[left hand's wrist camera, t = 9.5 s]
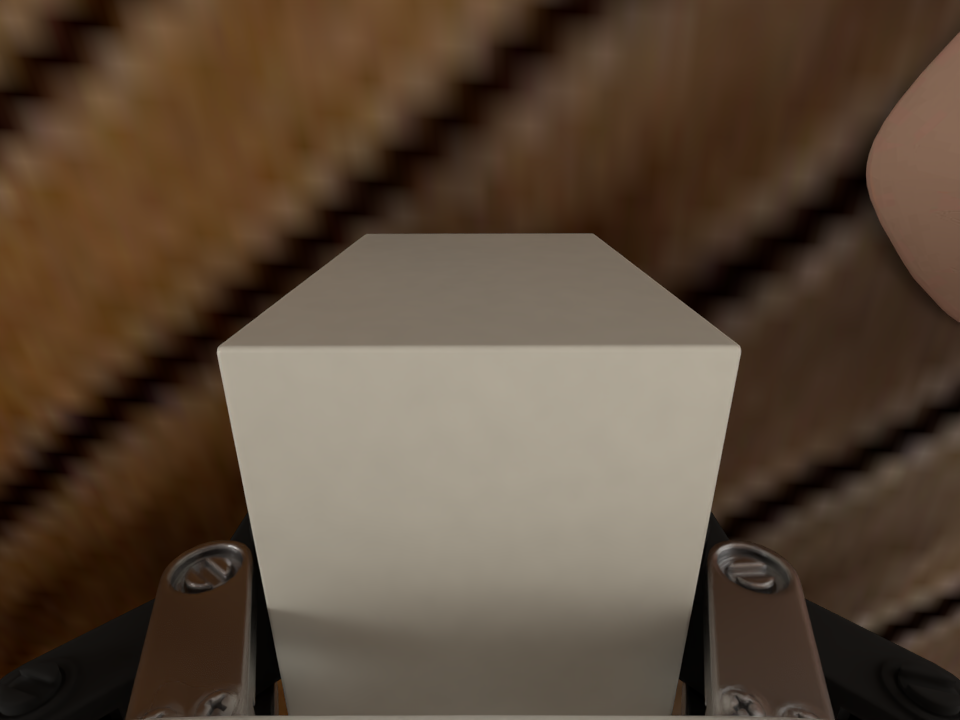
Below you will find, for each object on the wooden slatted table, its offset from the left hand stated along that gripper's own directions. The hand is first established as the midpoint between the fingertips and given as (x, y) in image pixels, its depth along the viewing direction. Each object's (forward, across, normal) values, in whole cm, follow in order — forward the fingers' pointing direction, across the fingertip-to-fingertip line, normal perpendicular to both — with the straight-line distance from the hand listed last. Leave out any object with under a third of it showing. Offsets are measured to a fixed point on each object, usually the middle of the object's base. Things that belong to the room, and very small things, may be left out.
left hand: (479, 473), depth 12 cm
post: (+3, 0, -33) cm, 33 cm away
